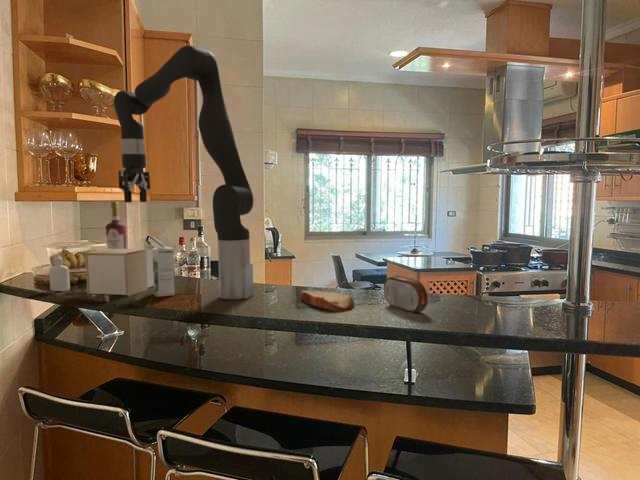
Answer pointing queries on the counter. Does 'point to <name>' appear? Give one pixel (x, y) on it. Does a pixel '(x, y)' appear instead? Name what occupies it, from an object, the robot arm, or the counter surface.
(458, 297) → the counter surface
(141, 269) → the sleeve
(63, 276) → the eye dropper bottle
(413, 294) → the tin
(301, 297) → the slice of bread
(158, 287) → the syrup box
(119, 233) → the liquor
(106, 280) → the plain white carton
